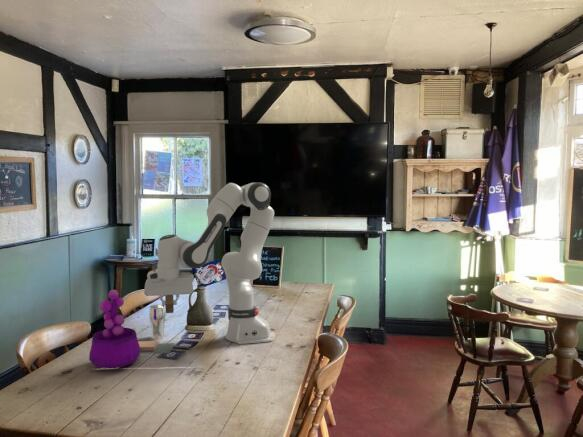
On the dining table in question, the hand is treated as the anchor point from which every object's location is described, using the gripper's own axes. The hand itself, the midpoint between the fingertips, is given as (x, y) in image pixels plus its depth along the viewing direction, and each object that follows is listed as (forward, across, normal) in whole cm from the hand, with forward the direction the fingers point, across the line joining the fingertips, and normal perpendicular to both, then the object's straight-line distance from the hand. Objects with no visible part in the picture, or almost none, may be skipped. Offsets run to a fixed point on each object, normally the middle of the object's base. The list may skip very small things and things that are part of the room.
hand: (169, 304), depth 205 cm
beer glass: (+19, +6, -13) cm, 24 cm away
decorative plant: (+19, +20, +15) cm, 31 cm away
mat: (+19, +8, 0) cm, 21 cm away
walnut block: (+3, 0, 0) cm, 3 cm away
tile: (+17, +6, +1) cm, 18 cm away
